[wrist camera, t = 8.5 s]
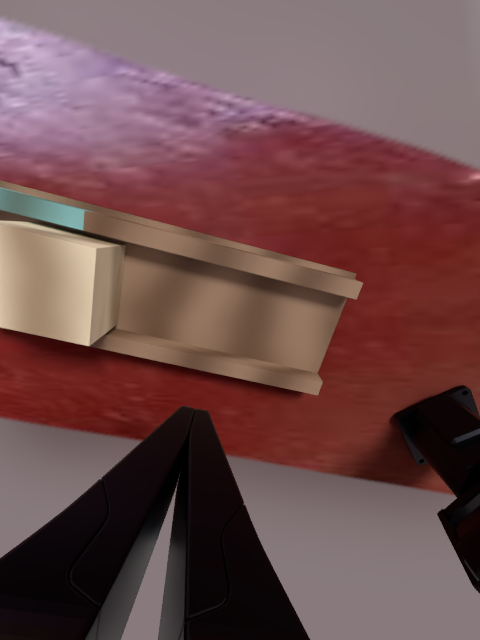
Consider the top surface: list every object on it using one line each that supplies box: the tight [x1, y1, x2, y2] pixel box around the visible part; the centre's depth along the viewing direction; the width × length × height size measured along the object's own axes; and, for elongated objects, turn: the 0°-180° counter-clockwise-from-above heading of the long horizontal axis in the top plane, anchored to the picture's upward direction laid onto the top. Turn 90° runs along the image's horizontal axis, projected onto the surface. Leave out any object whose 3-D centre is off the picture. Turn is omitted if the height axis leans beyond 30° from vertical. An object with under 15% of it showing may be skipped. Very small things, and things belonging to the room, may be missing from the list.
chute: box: [0, 180, 363, 395], centre depth 19 cm, size 25×10×2 cm, turn 76°
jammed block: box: [0, 221, 126, 346], centre depth 17 cm, size 6×6×4 cm
